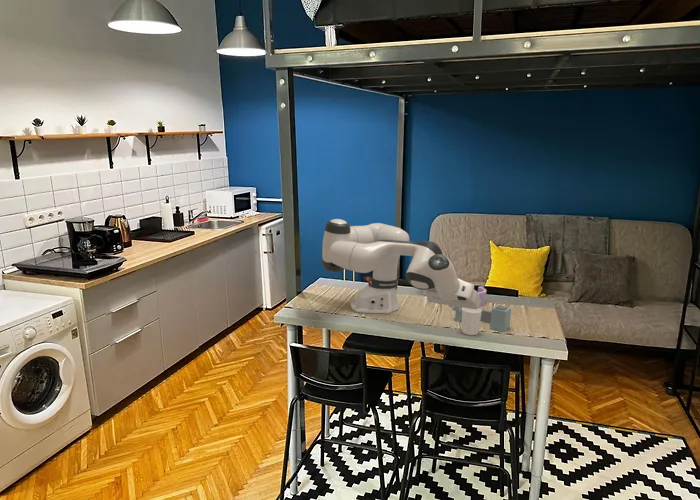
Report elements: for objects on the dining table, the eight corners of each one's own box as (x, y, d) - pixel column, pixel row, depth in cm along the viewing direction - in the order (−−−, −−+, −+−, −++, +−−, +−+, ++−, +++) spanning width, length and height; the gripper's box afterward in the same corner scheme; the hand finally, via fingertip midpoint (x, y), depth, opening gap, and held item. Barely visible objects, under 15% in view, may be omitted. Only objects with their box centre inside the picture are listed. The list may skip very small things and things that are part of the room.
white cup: (476, 328, 211) (478, 306, 209) (482, 336, 203) (484, 312, 201) (458, 328, 210) (459, 306, 208) (463, 335, 203) (464, 312, 201)
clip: (481, 312, 232) (482, 298, 230) (454, 308, 237) (455, 294, 235) (487, 300, 250) (488, 287, 248) (462, 296, 255) (463, 283, 253)
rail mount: (504, 332, 208) (506, 310, 206) (454, 320, 220) (456, 299, 218) (510, 326, 214) (513, 305, 212) (462, 315, 227) (464, 295, 225)
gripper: (420, 291, 188) (429, 311, 197) (473, 299, 177) (480, 320, 186) (425, 278, 191) (434, 298, 200) (477, 284, 180) (485, 306, 189)
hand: (457, 309), depth 193 cm, fingers closed
